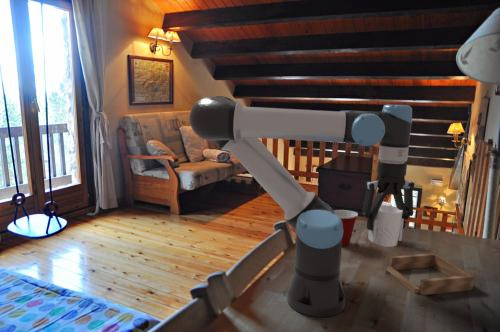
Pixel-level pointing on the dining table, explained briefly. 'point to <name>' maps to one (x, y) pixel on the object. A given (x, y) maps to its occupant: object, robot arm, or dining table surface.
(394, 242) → the white cup
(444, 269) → the bay
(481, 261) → the dining table surface
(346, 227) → the plastic cup
